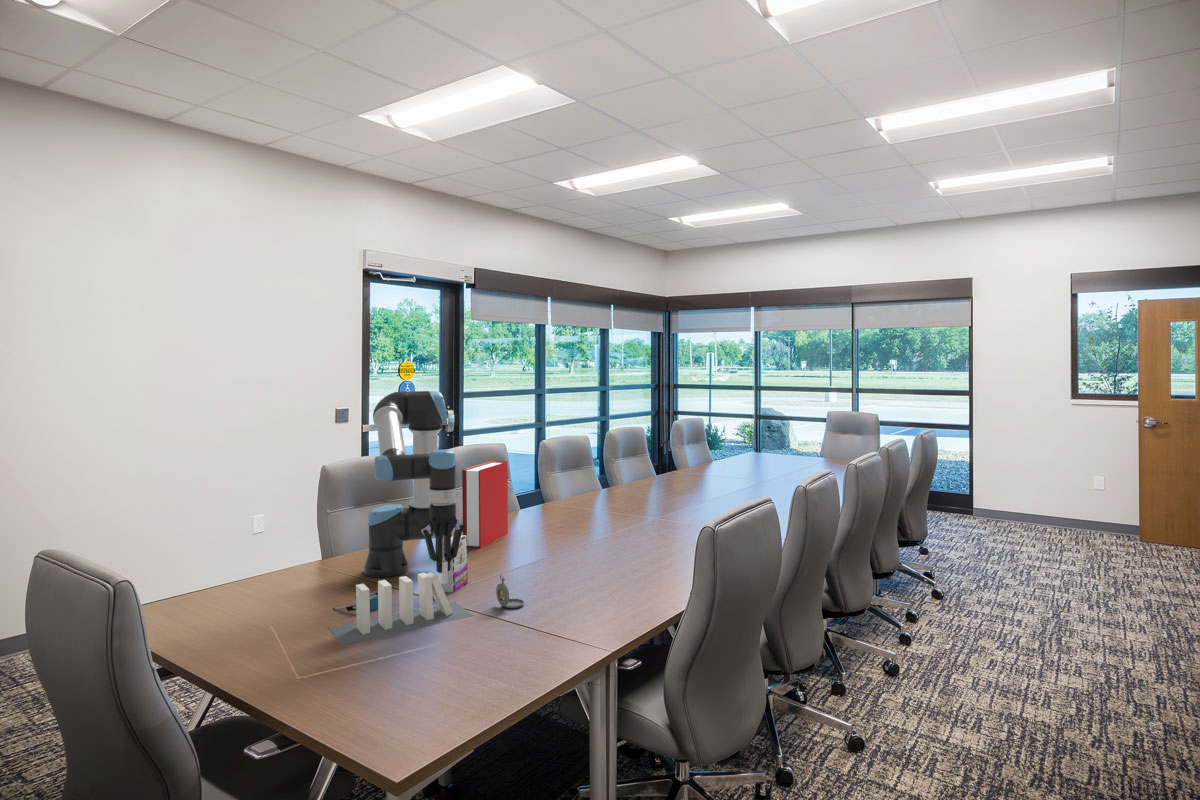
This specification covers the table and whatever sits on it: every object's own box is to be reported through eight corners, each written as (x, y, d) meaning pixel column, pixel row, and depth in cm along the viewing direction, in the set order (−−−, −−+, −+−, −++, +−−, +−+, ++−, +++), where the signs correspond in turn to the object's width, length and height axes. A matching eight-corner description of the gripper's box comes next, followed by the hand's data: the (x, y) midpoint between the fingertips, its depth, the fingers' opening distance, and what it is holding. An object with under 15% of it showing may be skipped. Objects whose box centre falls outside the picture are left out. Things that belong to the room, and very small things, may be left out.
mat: (328, 629, 183) (328, 628, 183) (455, 603, 204) (455, 601, 204) (341, 646, 172) (341, 645, 172) (473, 616, 193) (473, 615, 193)
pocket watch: (527, 603, 204) (527, 571, 204) (515, 612, 196) (515, 579, 196) (503, 600, 207) (503, 568, 207) (490, 609, 199) (490, 576, 199)
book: (480, 548, 268) (479, 469, 267) (462, 547, 270) (462, 469, 269) (509, 532, 294) (508, 461, 293) (492, 531, 296) (492, 460, 295)
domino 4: (419, 614, 194) (417, 574, 193) (426, 612, 195) (424, 572, 194) (427, 620, 189) (424, 579, 188) (433, 618, 190) (431, 577, 189)
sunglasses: (369, 617, 193) (367, 600, 193) (328, 618, 198) (326, 601, 198) (399, 601, 207) (397, 585, 207) (360, 602, 211) (358, 587, 211)
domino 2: (378, 622, 187) (377, 580, 187) (385, 621, 188) (385, 579, 188) (384, 629, 182) (384, 586, 182) (392, 628, 183) (391, 585, 183)
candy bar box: (454, 582, 225) (453, 534, 224) (468, 583, 224) (467, 535, 223) (439, 592, 214) (439, 542, 213) (454, 593, 213) (453, 543, 212)
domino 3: (399, 618, 191) (399, 577, 190) (406, 616, 192) (405, 576, 191) (406, 624, 186) (405, 582, 185) (413, 623, 187) (412, 581, 186)
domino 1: (356, 627, 184) (355, 584, 183) (364, 626, 185) (363, 583, 184) (362, 634, 179) (361, 590, 178) (370, 632, 180) (369, 589, 179)
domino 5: (439, 609, 197) (424, 575, 194) (445, 606, 198) (430, 572, 195) (447, 616, 192) (431, 580, 189) (453, 612, 193) (437, 577, 190)
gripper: (425, 507, 187) (426, 590, 188) (468, 502, 194) (469, 581, 195) (416, 503, 193) (417, 583, 194) (458, 498, 200) (459, 575, 201)
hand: (443, 582), depth 195 cm, fingers closed
